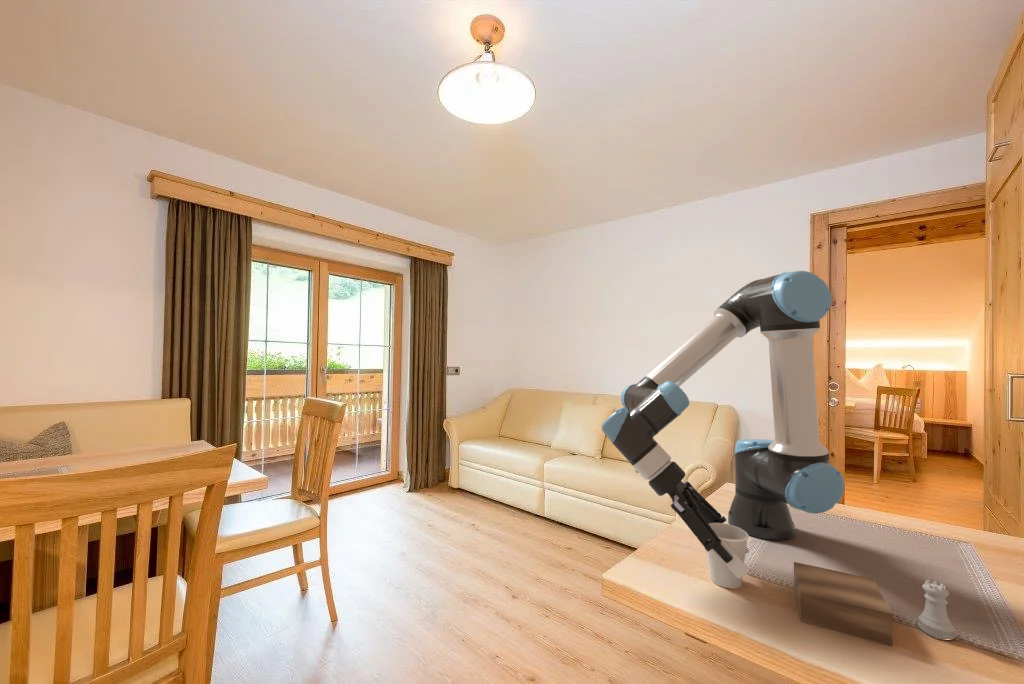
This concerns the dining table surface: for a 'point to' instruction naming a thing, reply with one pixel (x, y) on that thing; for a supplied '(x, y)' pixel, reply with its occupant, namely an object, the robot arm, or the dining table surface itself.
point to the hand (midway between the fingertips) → (743, 563)
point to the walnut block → (842, 603)
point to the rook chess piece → (936, 612)
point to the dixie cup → (737, 543)
